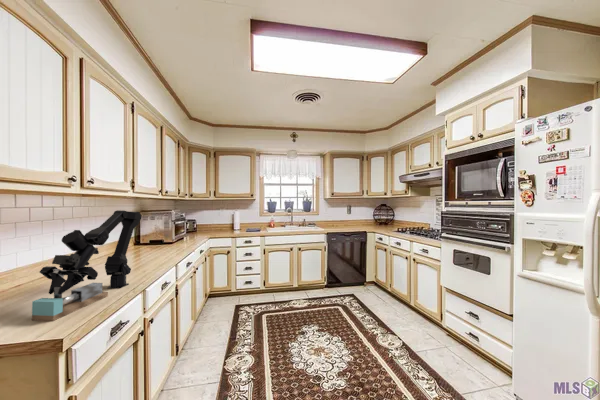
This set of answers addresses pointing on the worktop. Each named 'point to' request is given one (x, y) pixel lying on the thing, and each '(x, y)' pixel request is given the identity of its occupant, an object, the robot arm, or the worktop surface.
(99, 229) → the robot arm
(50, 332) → the worktop surface
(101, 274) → the worktop surface
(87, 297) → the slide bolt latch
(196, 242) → the worktop surface
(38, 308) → the socket block
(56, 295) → the slip tube
